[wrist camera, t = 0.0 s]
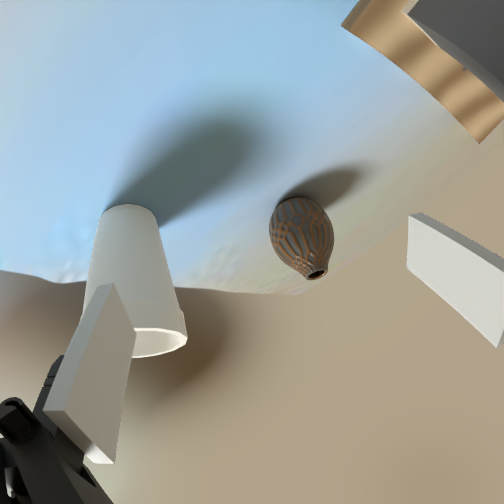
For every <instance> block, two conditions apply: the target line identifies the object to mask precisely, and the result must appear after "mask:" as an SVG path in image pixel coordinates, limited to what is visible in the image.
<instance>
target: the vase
mask: <svg viewBox="0 0 504 504" xmlns="http://www.w3.org/2000/svg"><path fill="white" fill-rule="evenodd" d="M269 234H270V239H271V243H272V246H273V248H274V250H275V252H276V253H277V255H278V256H279V258H280V259H281V260H282V261H283V262H284V263H285V264H286V265H288V266H289V267H291V268H293V269H294V270H296V271H298V272H299V273H301V274H302V275H303V276H304V277H305V278H306V279H307V280H315V279H319V278H321V277H323V276H324V275H325V274H326V273H327V271H328V262H329V259H330V256H331V253H332V250H333V246H334V232H333V227H332V224H331V221H330V219H329V217H328V216H327V214H326V212H325V211H324V210H323V209H322V208H321V207H320V206H319V205H318V204H317V203H316V202H314V201H312V200H310V199H306V198H301V197H295V198H290V199H287V200H285V201H284V202H282V203H281V204H280V205H279V206H278V207H277V208H276V209H275V211H274V212H273V214H272V216H271V219H270V224H269Z"/></svg>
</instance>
